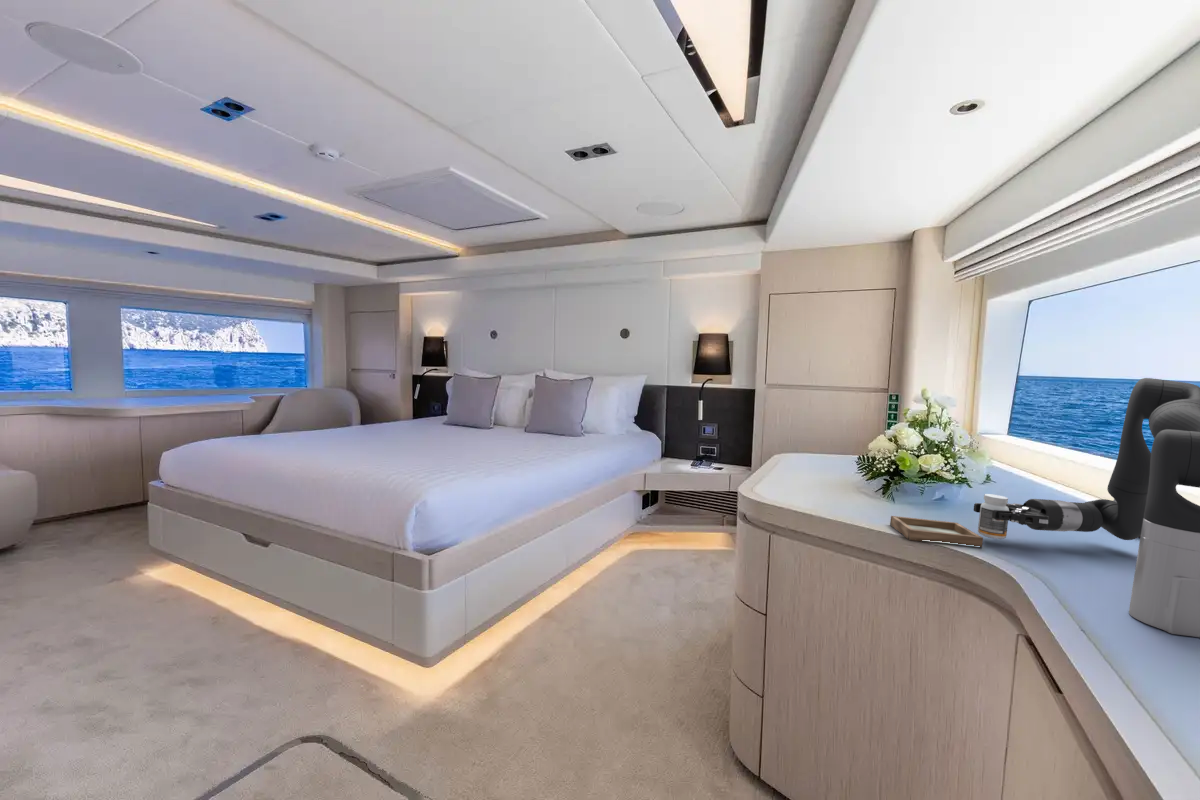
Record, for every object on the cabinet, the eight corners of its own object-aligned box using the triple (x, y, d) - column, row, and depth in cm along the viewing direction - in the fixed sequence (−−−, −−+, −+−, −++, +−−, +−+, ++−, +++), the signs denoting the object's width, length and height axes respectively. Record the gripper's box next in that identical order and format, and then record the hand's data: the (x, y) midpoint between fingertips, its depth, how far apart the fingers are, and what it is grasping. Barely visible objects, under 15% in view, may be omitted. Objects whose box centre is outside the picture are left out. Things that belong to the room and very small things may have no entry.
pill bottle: (1011, 541, 126) (1016, 500, 125) (984, 537, 127) (989, 497, 126) (998, 533, 131) (1003, 494, 130) (972, 530, 132) (977, 492, 132)
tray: (981, 548, 124) (983, 537, 124) (909, 540, 127) (910, 529, 126) (955, 532, 136) (957, 522, 136) (890, 524, 138) (891, 515, 138)
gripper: (1028, 493, 136) (964, 489, 135) (1080, 508, 121) (1009, 503, 121) (1025, 521, 136) (961, 517, 136) (1076, 540, 122) (1005, 535, 122)
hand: (984, 511), depth 128 cm, fingers closed on pill bottle, 5 cm apart
